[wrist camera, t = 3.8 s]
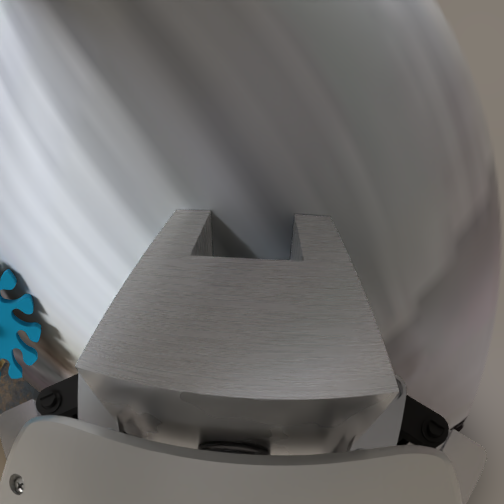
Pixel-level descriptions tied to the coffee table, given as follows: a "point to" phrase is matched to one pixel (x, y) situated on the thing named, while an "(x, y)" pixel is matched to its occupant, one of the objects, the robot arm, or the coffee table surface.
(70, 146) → the coffee table surface
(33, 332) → the gear
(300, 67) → the coffee table surface
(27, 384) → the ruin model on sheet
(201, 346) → the grey box with knob
